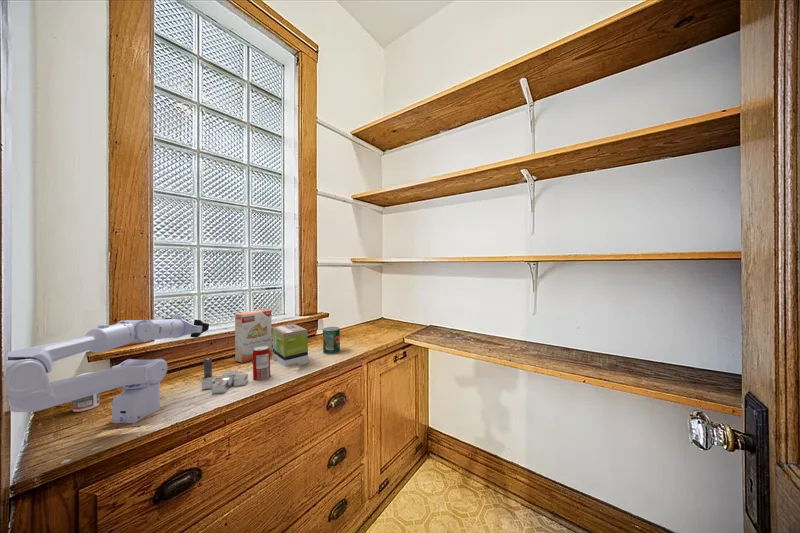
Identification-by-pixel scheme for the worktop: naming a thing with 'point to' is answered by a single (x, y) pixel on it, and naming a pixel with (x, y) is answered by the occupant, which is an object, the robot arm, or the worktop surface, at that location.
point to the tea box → (290, 345)
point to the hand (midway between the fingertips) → (197, 326)
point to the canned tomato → (331, 340)
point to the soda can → (261, 363)
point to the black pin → (207, 368)
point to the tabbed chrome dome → (224, 381)
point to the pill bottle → (85, 402)
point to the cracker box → (252, 333)
